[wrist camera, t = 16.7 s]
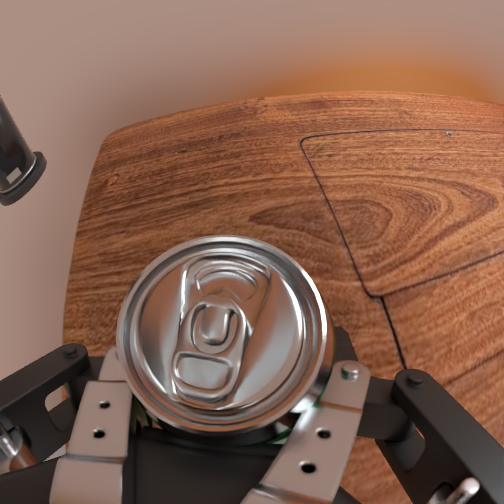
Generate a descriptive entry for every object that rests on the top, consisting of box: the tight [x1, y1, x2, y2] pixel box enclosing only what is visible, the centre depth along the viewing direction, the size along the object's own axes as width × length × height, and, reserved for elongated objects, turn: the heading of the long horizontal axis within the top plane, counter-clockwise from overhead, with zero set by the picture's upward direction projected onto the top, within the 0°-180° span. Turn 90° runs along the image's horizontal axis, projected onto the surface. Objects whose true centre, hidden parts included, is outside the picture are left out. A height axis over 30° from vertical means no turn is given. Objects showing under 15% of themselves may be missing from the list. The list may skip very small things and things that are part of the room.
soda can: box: [116, 235, 336, 447], centre depth 11 cm, size 5×5×12 cm
